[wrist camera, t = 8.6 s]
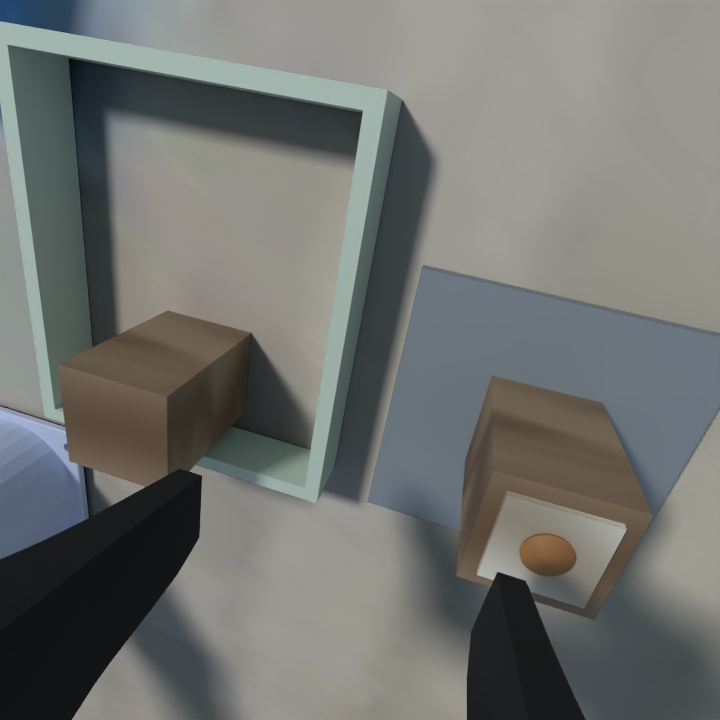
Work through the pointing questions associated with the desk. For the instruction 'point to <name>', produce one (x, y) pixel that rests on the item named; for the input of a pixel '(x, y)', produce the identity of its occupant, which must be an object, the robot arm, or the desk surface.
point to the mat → (536, 384)
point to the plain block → (154, 396)
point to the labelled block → (548, 497)
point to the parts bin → (66, 243)
